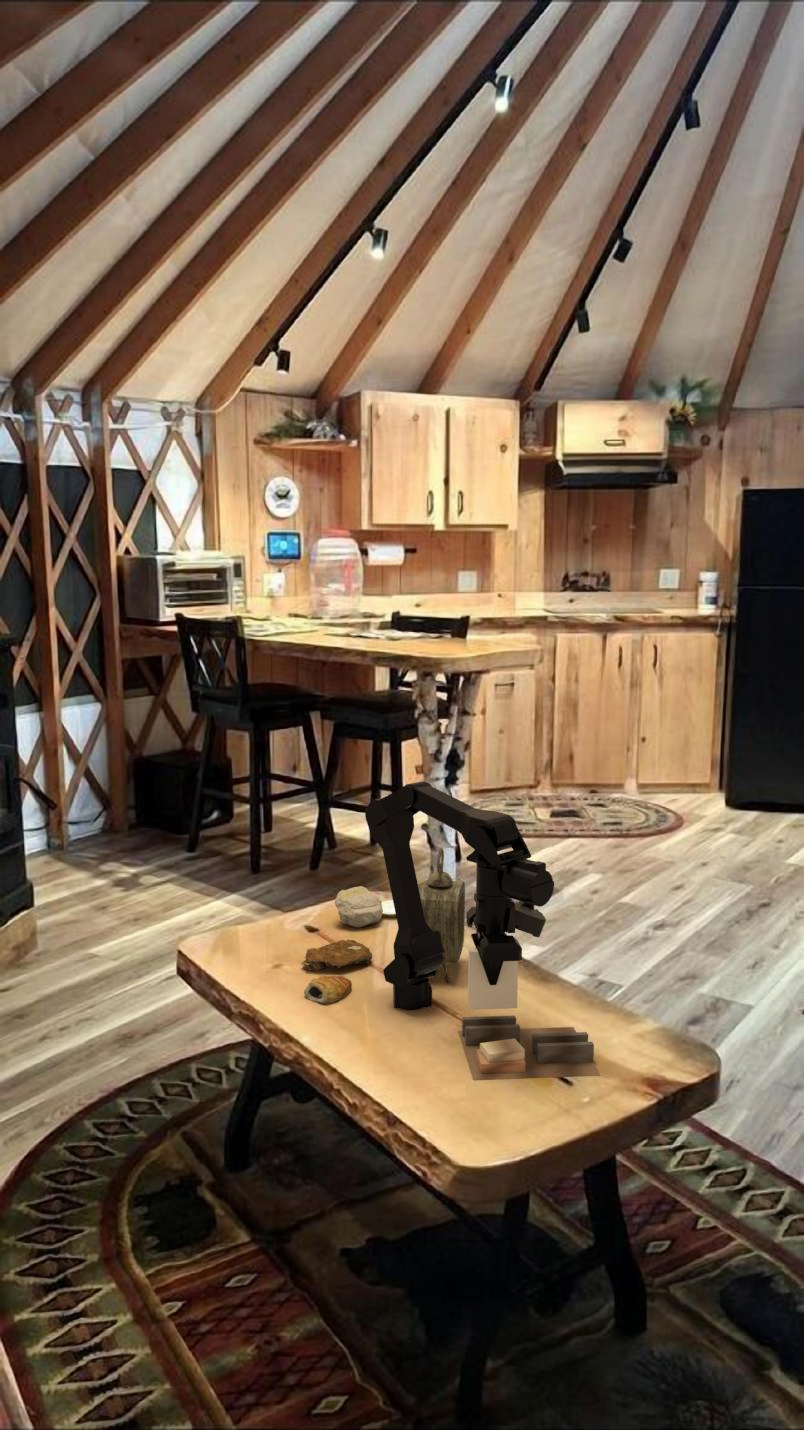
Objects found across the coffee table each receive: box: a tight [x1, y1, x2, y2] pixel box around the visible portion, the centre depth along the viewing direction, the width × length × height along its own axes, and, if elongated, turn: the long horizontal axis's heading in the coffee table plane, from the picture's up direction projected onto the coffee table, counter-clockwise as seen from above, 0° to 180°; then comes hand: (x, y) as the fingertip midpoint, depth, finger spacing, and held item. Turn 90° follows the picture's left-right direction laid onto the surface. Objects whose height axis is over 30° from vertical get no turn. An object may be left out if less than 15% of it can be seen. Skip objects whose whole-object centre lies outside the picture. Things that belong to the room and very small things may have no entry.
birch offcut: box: [480, 1039, 525, 1064], centre depth 162 cm, size 6×4×2 cm, turn 107°
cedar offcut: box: [476, 1049, 525, 1073], centre depth 162 cm, size 7×5×2 cm
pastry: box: [303, 975, 353, 1004], centre depth 192 cm, size 9×7×4 cm
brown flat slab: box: [300, 939, 373, 972], centre depth 206 cm, size 11×4×15 cm
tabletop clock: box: [418, 848, 466, 984], centre depth 201 cm, size 14×9×25 cm, turn 170°
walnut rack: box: [457, 1015, 602, 1081], centre depth 166 cm, size 20×17×4 cm
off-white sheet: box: [467, 947, 519, 1011], centre depth 169 cm, size 8×2×10 cm, turn 95°
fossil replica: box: [334, 885, 384, 928], centre depth 230 cm, size 12×8×10 cm
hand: (491, 982), depth 169 cm, fingers closed on off-white sheet, 2 cm apart
